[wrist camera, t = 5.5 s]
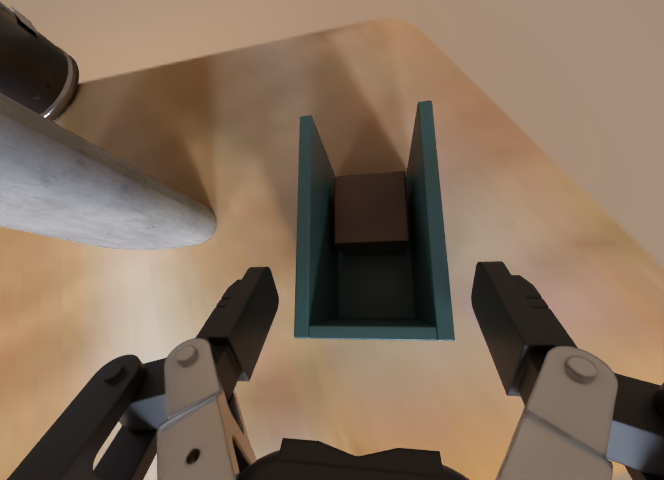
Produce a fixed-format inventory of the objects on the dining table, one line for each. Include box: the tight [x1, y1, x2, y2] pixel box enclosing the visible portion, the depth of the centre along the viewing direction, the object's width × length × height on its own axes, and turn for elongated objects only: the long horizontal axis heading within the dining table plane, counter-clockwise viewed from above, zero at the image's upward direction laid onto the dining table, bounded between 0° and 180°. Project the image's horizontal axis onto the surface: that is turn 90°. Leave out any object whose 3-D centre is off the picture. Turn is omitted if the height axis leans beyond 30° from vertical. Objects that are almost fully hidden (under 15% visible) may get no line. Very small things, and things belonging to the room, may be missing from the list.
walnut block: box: [334, 171, 410, 256], centre depth 17 cm, size 4×4×4 cm
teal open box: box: [294, 101, 455, 341], centre depth 16 cm, size 10×6×8 cm, turn 0°
